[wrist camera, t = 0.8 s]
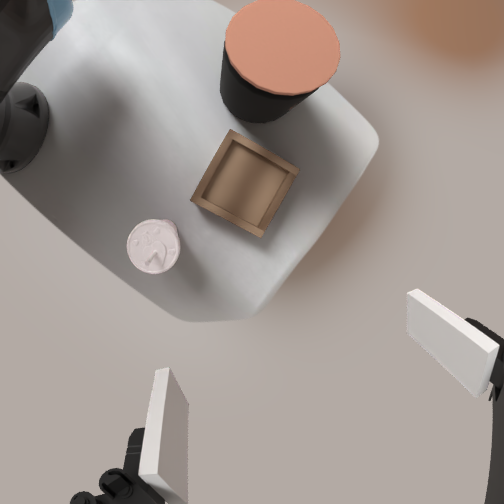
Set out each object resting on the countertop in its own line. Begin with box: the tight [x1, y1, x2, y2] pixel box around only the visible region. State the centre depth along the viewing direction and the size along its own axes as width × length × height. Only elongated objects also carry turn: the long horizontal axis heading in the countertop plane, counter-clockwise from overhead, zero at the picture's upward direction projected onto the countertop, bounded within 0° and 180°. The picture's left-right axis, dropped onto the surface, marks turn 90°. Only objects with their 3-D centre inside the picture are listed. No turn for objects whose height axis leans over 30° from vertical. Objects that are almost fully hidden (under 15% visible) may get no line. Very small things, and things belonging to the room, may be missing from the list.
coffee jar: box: [220, 0, 340, 123], centre depth 31 cm, size 11×11×18 cm
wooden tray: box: [190, 129, 300, 238], centre depth 40 cm, size 10×10×4 cm
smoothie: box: [127, 219, 181, 274], centre depth 36 cm, size 6×6×14 cm
